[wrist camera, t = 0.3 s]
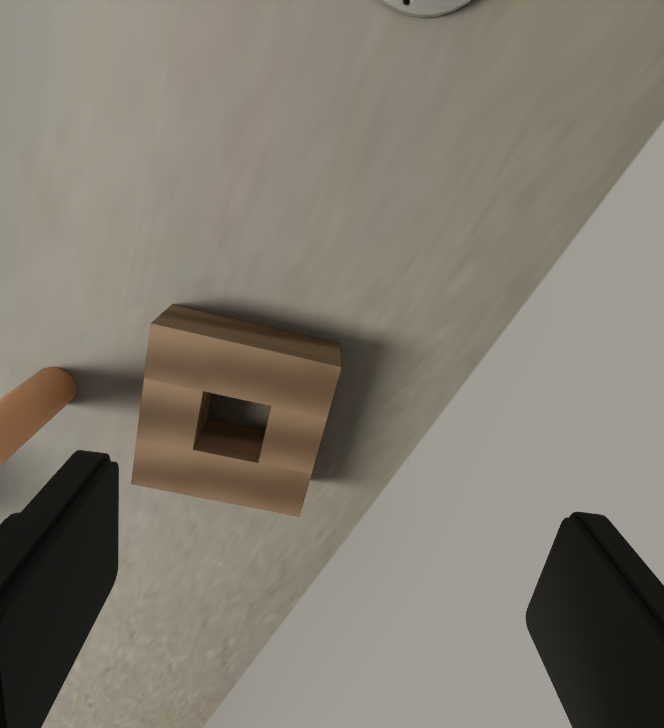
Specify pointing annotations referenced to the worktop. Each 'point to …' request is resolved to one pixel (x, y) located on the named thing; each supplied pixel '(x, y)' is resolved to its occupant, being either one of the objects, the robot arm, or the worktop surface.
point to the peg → (32, 407)
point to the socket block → (242, 381)
